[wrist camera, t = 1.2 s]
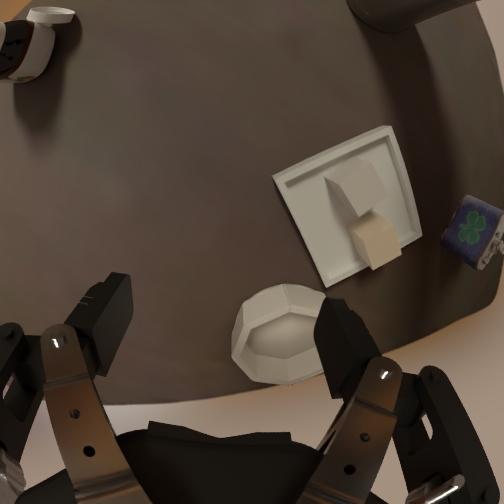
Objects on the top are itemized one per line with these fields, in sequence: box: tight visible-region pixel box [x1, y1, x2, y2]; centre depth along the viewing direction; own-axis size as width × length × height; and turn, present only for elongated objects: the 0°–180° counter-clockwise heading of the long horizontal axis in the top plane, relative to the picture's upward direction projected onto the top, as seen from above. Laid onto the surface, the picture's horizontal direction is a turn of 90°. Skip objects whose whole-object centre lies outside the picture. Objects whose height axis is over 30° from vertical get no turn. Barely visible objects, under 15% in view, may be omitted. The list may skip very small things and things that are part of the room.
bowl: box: [232, 284, 326, 385], centre depth 36 cm, size 14×14×5 cm
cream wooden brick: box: [347, 211, 402, 270], centre depth 30 cm, size 4×4×5 cm
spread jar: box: [0, 7, 75, 83], centre depth 14 cm, size 12×11×12 cm
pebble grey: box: [324, 157, 388, 217], centre depth 27 cm, size 4×4×5 cm
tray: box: [272, 126, 422, 288], centre depth 30 cm, size 15×15×2 cm
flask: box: [440, 194, 504, 270], centre depth 28 cm, size 9×3×11 cm, turn 154°
